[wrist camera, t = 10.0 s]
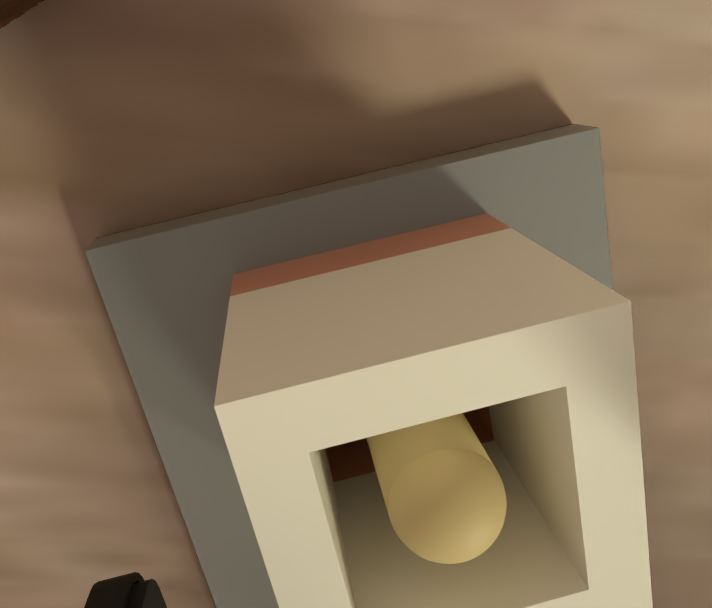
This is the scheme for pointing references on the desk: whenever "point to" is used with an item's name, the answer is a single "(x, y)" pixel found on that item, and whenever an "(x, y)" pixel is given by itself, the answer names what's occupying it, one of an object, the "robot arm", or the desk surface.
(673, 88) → the desk surface
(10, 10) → the sunglasses case
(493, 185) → the pin board
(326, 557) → the sleeve
